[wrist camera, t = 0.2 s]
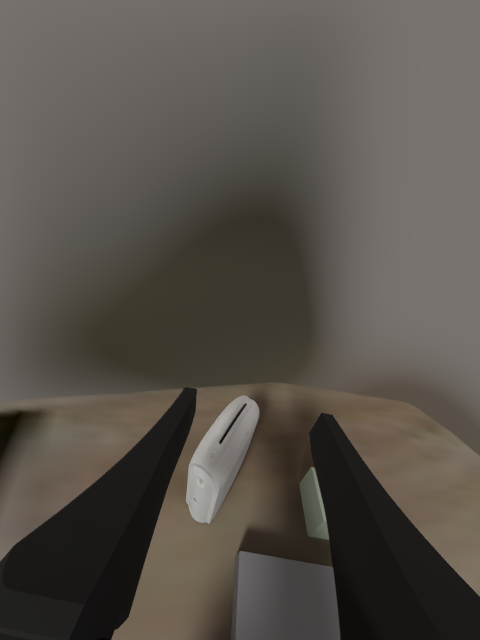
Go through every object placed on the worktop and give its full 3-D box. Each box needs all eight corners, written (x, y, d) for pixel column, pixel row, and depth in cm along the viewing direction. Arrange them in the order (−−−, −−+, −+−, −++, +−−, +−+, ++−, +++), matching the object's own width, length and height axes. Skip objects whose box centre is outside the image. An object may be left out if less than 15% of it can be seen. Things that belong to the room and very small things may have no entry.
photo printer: (208, 535, 21) (223, 486, 15) (179, 507, 22) (183, 452, 16) (249, 451, 29) (269, 398, 23) (226, 435, 31) (239, 382, 25)
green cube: (348, 543, 22) (369, 529, 20) (307, 536, 22) (323, 521, 20) (332, 490, 27) (348, 473, 24) (298, 484, 26) (311, 466, 24)
